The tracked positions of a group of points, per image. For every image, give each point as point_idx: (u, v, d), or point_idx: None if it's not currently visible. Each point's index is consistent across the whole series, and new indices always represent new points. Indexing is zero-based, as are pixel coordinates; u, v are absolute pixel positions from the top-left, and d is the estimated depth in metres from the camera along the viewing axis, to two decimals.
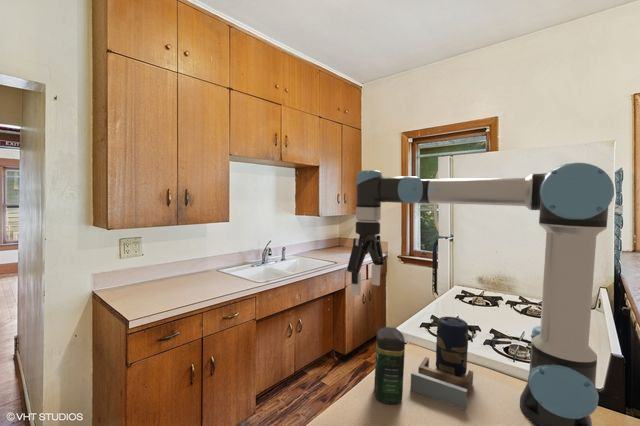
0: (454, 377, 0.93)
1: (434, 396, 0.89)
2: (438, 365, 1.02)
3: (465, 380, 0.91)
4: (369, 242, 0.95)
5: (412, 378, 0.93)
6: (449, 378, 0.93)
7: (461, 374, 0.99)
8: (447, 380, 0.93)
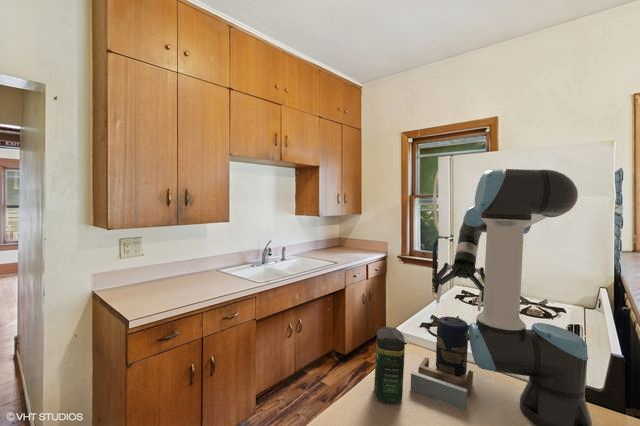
0: (454, 377, 0.93)
1: (434, 396, 0.89)
2: (438, 365, 1.02)
3: (465, 380, 0.91)
4: None
5: (412, 378, 0.93)
6: (449, 378, 0.93)
7: (461, 374, 0.99)
8: (447, 380, 0.93)
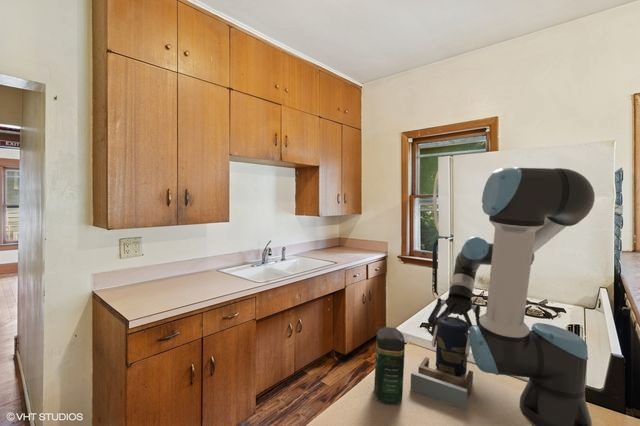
0: (454, 377, 0.93)
1: (434, 396, 0.89)
2: (438, 365, 1.02)
3: (465, 380, 0.91)
4: None
5: (412, 378, 0.93)
6: (449, 378, 0.93)
7: (461, 374, 0.99)
8: (447, 380, 0.93)
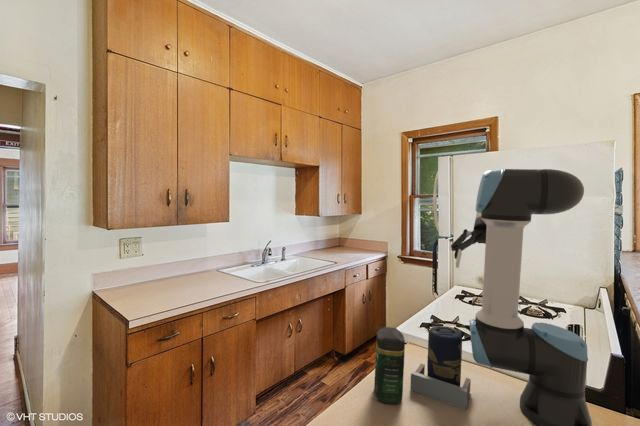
0: None
1: (434, 396, 0.89)
2: None
3: None
4: None
5: (412, 378, 0.93)
6: None
7: None
8: None
